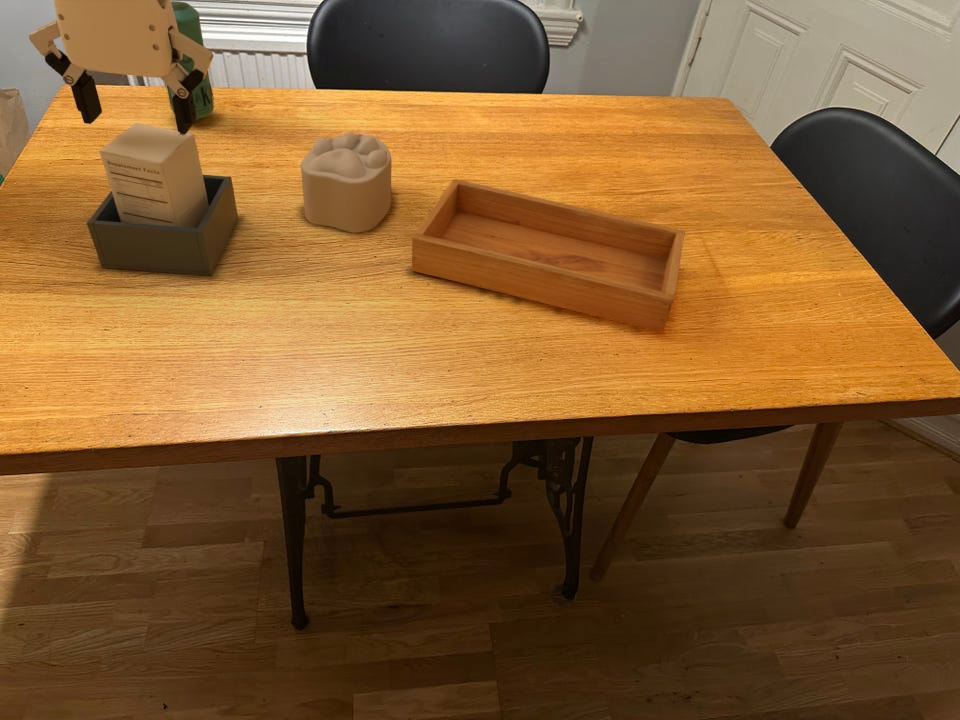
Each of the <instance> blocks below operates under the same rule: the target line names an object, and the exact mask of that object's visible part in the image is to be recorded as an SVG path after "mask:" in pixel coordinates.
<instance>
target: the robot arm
mask: <svg viewBox="0 0 960 720" xmlns="http://www.w3.org/2000/svg"><path fill="white" fill-rule="evenodd" d="M171 1H172V0H53V5H54V12H55V15H56V20H54V21H52V22H50V23H48V24H45V25H44V26H41V27H39V28H37V29H35V30H34V31H32V33H30V34H29V35H28V38H29V42H31V44H32V45H33V46H34V48H36V50H37V51H38V52H39V53H40V55H41V56H43V57H44V62H45V63H46V64H47V65H48V66H49V67H50V68H51V69H52V70H54V71H55V72H56V73H57V74H59V75H60V76H61V77H62V81H63V83H65V84H66V85H67V86H70V89H71V92H72V95H73V100H74V102H75V106H76V109H77V111H78V112H80V114H81V118H82V121H83V123H84V124H86V125H91V124H93V123H94V122H95V121H96V120H97V119H98V117H100V115H101V114H102V113H103V108H102V105H101V101H100V98H99V93H98V89H97V87H96V86H97V85H96V82H95V79H94V78H93V76H92V75H90V74H88V71H92V72H93V71H94V72H100V73H109V74H117V75H125V76H134V77H135V76H136V77H144V78H155V79H158V78H160V79H161V80H162V81H163V82H164V84H167V85H168V86H169V87H170V88H171V89H172V90H173V91H174V92H175V95H174V97H173V98H172V103H173V108H174V113H175V114H174V113H173V114H174V118H175V124H176V128H177V129H176V130H178V132H180V134H186V133H187V132H188V133H189V130H190V129H191V127H192V126H193V125H195V123H196V121H197V118H196V110H195V104H194V98H193V92H192V91H193V90H194V89H195V88H196V87H197V86H198V85H199V84H200V83H201V82H202V80H203V79H204V78H205V76H206V75H207V71H209V70H210V66H211V64H212V61H213V60H214V53H213V52H212V50H210V49H208V48H207V47H206V46H205V47H203V46H202V45H200V44H198V43H197V42H195V41H193V40H192V39H190V38H188V37H186V36H185V35H183V34H181V33H180V32H179V31H178V27H177V23H176V19H175V15H174V11H173V8H172V4H171ZM58 38H61V42H62V45H63V49H64V51H65V52H63V50H60V49H59V48H58V47H57V45H56V44H55V42H54V40H56V39H58ZM183 54H185V55H186V56H188V57H190V58H191V59H193V61H194V67H193V70H192V71H191V72H190V73H188V72H187V71H186V70H185V69H184V68H183V67H182V66H181V65H180V64H179V63H178V62H180V61H181V60H182V57H183ZM167 85H166V86H167Z"/></svg>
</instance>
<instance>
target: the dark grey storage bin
mask: <svg viewBox="0 0 960 720" xmlns="http://www.w3.org/2000/svg"><path fill="white" fill-rule="evenodd" d="M202 175H203V179H204V184H205V189H206V194H207V199H208V204H209V208H208V210H207V212H206V214H205V216H204V218H203V219H202V221H201V223H200V225H199V227H198V229H197V228H186V227H173V226H160V225H147V224H134V223H122V222H121V220H120V217H119V213H118V210H117V207H116V204H115V200H114V197H113V194H112V191H111V190H110V191H109V193H108V194H107V195H106V196H105V198H104V199H103V201H102V202H101V203H100V205H99V206H98V207H97V209H96V210H95V212H93V214H92V215H91V216H90V218H89V219H88V221H87V222H86V225H87V229H88V231H89V234H90V238H91V240H92V244H93V247H94V249H95V252H96V255H97V258H98V261H99V264H100V267H101V268H102V269H114V270H115V269H116V270H127V271H128V270H129V271H143V272H155V273H166V274H167V273H170V274H180V275H181V274H184V275H196V276H210V277H211V276H212V275H213V273H214V271H215V269H216V267H217V265H218V263H219V260H220V259H221V256H222V254H223V252H224V250H225V247H226V246H227V243H228V241H229V239H230V237H231V235H232V233H233V230H234V229H235V227H236V225H237V222H238V220H239V215H238V209H237V202H236V197H235V191H234V185H233V180H232V176H227V175H214V174H204V173H202Z"/></svg>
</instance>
